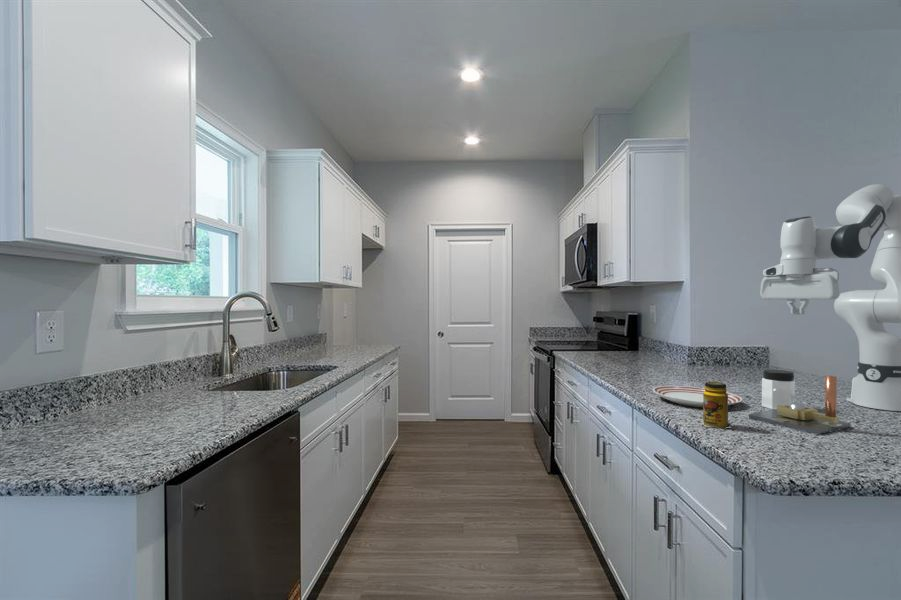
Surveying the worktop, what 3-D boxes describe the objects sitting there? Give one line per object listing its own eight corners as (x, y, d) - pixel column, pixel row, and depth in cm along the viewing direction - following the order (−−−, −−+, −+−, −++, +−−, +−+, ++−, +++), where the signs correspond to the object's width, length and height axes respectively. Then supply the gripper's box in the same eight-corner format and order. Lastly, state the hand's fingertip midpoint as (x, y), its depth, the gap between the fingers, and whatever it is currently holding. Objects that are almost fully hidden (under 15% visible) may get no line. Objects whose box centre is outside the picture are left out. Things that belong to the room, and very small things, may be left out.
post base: (779, 412, 142) (780, 396, 142) (850, 427, 126) (851, 409, 126) (747, 418, 135) (747, 401, 135) (818, 435, 118) (818, 416, 118)
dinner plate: (727, 396, 166) (727, 387, 166) (755, 414, 140) (755, 403, 140) (647, 391, 174) (647, 383, 174) (659, 408, 148) (659, 398, 148)
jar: (787, 412, 142) (787, 374, 142) (758, 406, 149) (758, 370, 149) (798, 408, 147) (798, 371, 147) (770, 403, 154) (770, 368, 154)
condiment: (701, 426, 126) (702, 384, 126) (700, 419, 134) (700, 379, 133) (732, 430, 123) (732, 386, 123) (729, 422, 130) (729, 381, 130)
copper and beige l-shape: (775, 414, 134) (775, 370, 134) (791, 411, 137) (791, 368, 137) (827, 426, 121) (828, 377, 121) (844, 423, 124) (844, 376, 124)
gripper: (844, 267, 131) (844, 315, 131) (768, 271, 149) (768, 313, 149) (832, 267, 128) (832, 315, 128) (757, 270, 146) (757, 313, 146)
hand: (797, 314), depth 139 cm, fingers closed
